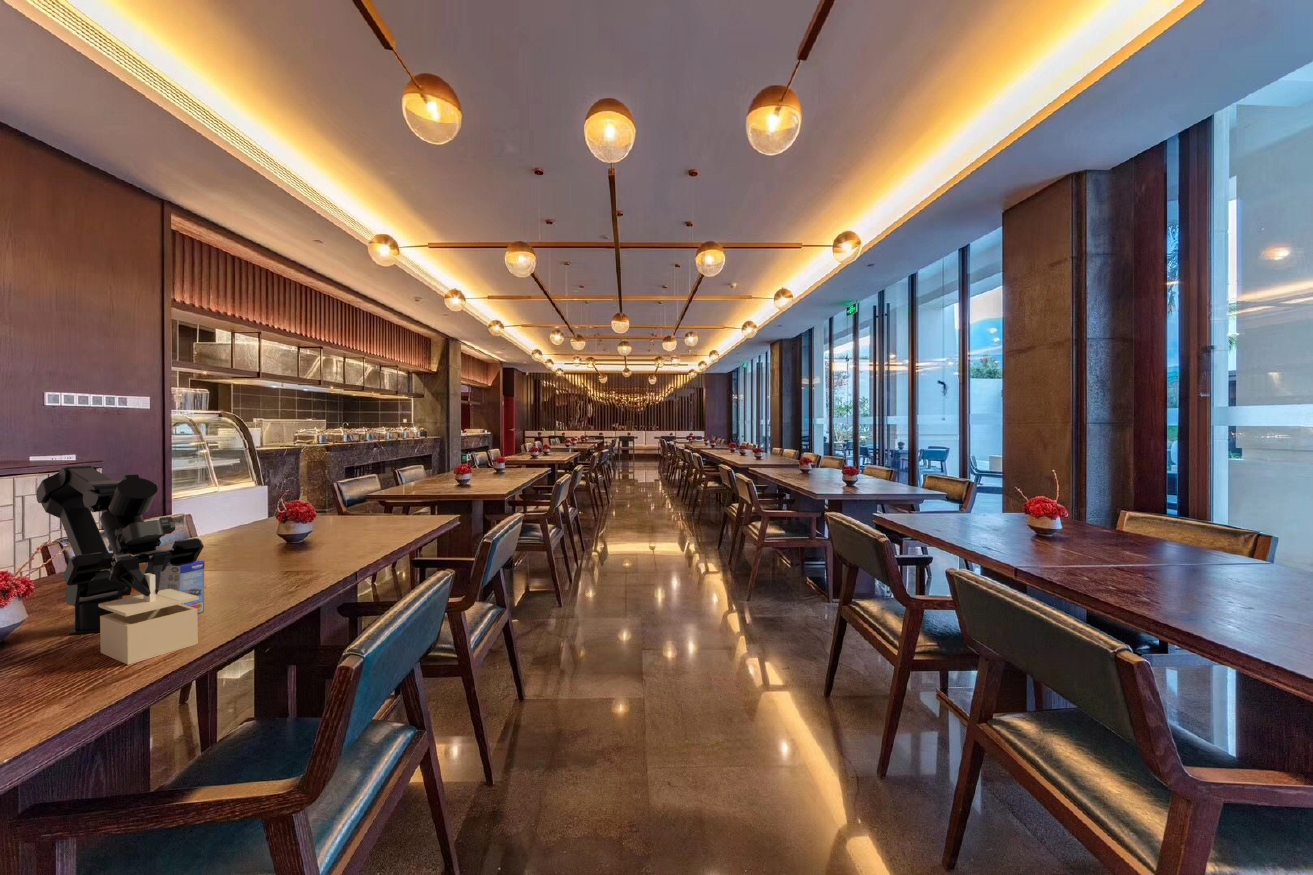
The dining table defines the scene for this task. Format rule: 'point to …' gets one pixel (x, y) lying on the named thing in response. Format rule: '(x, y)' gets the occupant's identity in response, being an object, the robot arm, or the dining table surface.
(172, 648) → the carton
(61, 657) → the dining table surface
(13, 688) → the dining table surface
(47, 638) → the dining table surface
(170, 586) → the ink cartridge box
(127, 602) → the carton lid
